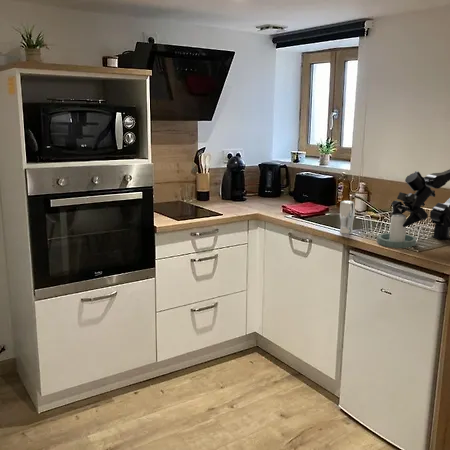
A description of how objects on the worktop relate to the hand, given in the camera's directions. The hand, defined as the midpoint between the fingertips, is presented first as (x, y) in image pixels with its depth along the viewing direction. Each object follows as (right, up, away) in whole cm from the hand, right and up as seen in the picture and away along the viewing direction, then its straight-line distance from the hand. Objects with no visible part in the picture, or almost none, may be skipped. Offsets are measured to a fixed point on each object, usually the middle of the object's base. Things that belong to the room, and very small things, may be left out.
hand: (396, 224), depth 221 cm
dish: (+1, -8, +2) cm, 9 cm away
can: (+1, -8, +2) cm, 8 cm away
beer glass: (-17, -4, +21) cm, 27 cm away
